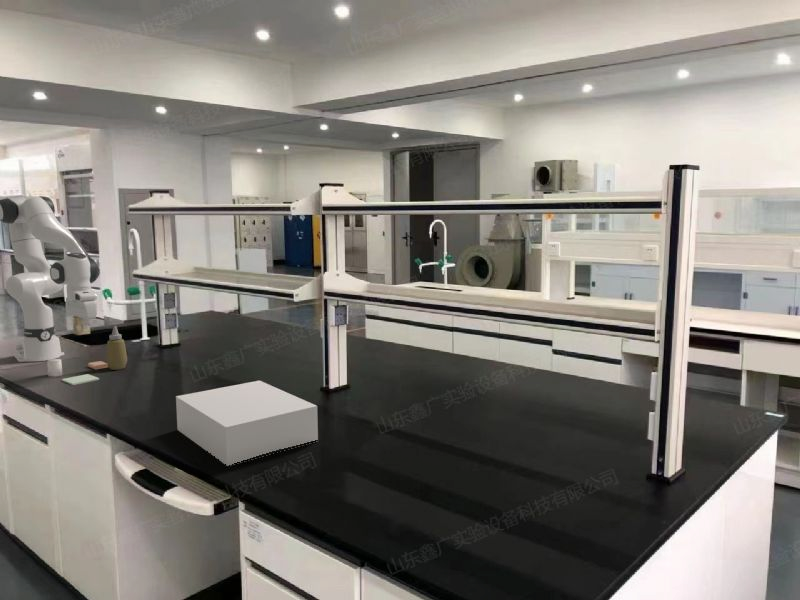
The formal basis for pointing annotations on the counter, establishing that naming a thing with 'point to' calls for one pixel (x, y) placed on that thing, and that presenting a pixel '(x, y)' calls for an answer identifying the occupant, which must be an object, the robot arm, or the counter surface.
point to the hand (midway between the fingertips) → (81, 327)
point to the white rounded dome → (54, 367)
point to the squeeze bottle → (116, 351)
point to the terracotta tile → (97, 365)
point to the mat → (80, 379)
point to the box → (246, 420)
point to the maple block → (80, 326)
